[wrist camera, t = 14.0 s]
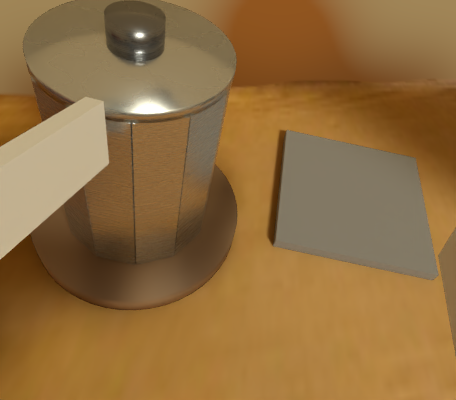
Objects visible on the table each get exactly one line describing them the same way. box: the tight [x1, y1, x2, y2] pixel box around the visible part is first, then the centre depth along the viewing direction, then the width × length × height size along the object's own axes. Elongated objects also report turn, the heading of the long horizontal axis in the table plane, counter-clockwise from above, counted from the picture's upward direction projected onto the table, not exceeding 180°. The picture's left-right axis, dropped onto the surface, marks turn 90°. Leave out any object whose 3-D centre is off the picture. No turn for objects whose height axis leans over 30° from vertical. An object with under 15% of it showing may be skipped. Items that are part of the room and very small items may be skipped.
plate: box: [31, 165, 237, 310], centre depth 28 cm, size 14×14×2 cm
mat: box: [273, 130, 438, 280], centre depth 32 cm, size 12×12×1 cm
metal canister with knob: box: [23, 0, 236, 265], centre depth 22 cm, size 9×9×13 cm
